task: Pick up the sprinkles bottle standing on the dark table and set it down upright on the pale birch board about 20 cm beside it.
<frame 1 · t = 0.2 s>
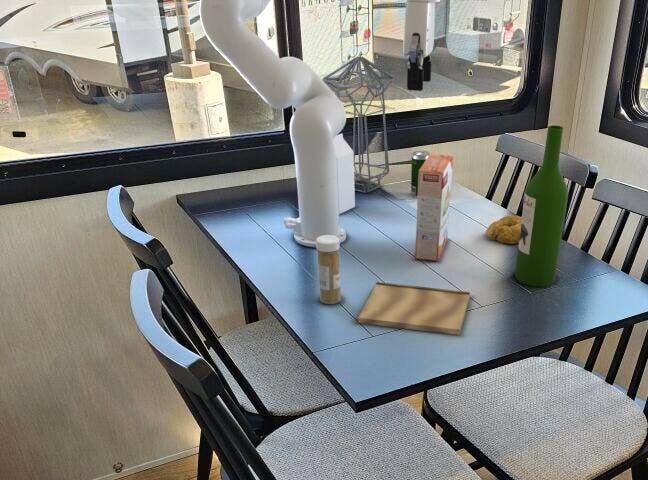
hand: (419, 85, 144), 37 cm above the table, tool pointing down, fingers open, 9 cm apart
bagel: (507, 238, 172), on the table
sprinkles bottle: (330, 300, 142), on the table
geometric lantern: (361, 187, 201), on the table
board: (415, 309, 139), on the table
cracker box: (432, 250, 164), on the table
beer can: (420, 196, 196), on the table
wine bottle: (534, 279, 153), on the table
milk carton: (336, 209, 186), on the table
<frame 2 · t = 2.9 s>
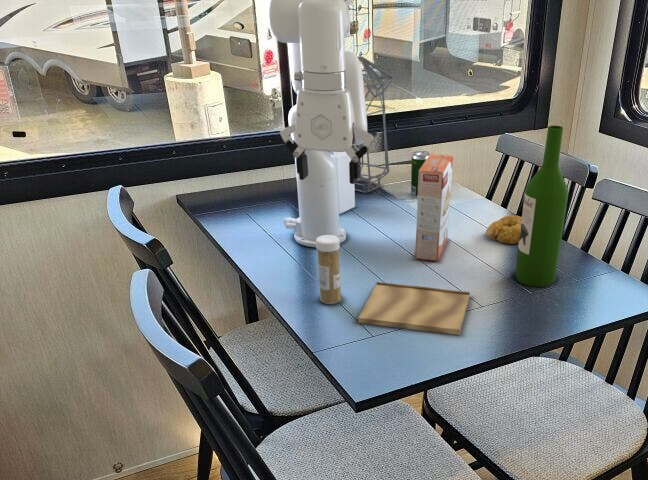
hand: (328, 179, 128), 25 cm above the table, tool pointing down, fingers open, 9 cm apart
nothing on the table moved.
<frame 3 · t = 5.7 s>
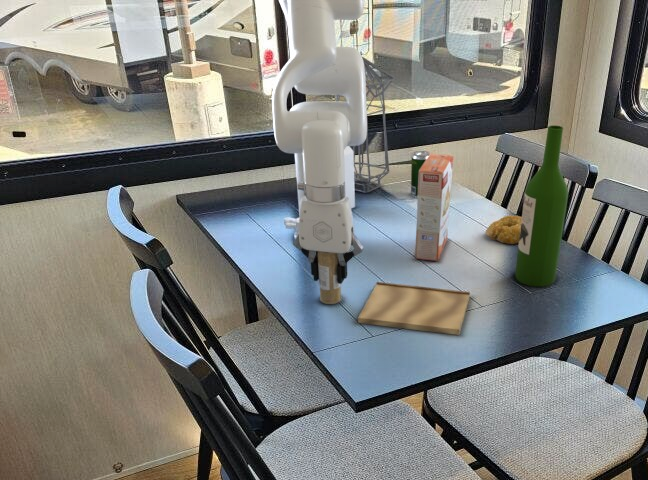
hand: (329, 278, 139), 5 cm above the table, tool pointing down, fingers closed on sprinkles bottle, 4 cm apart
sprinkles bottle: (330, 300, 142), on the table, touching gripper
everything else where it was.
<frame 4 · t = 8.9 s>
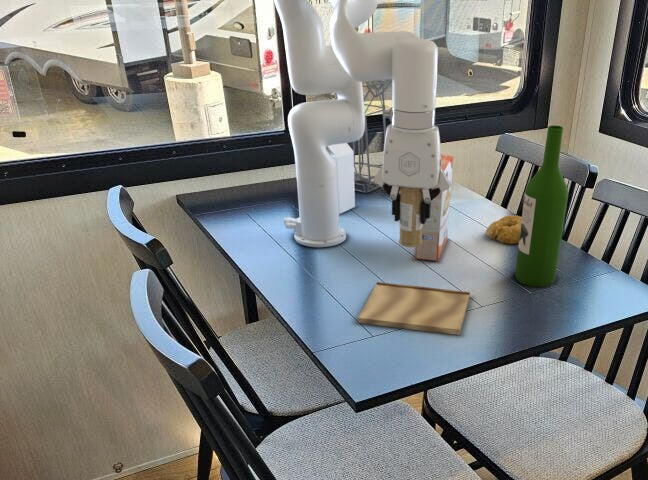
hand: (411, 219, 128), 19 cm above the table, tool pointing down, fingers closed on sprinkles bottle, 4 cm apart
sprinkles bottle: (410, 244, 131), point 14 cm above the table, touching gripper
everything else where it was.
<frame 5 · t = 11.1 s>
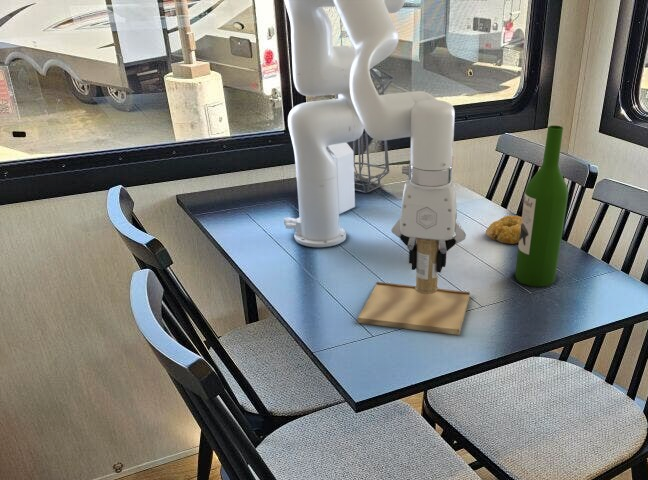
hand: (427, 267, 133), 10 cm above the table, tool pointing down, fingers closed on sprinkles bottle, 4 cm apart
sprinkles bottle: (426, 290, 136), point 5 cm above the table, touching gripper
everything else where it was.
when the fingers open (6 cm above the table, at t = 12.4 s): sprinkles bottle stays where it is, resting on board.
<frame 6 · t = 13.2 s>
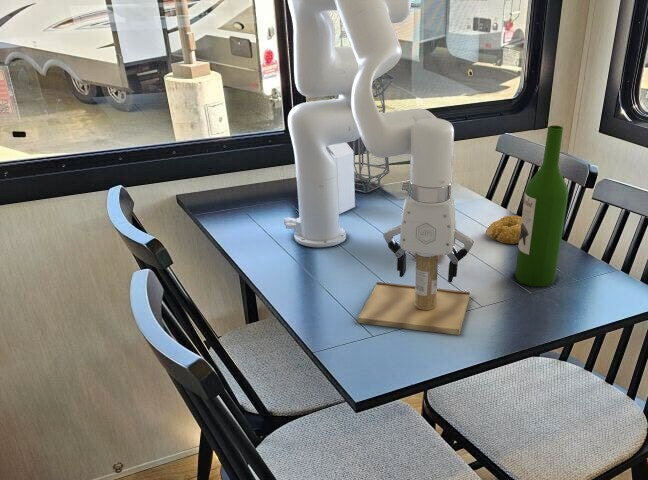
hand: (426, 276, 134), 8 cm above the table, tool pointing down, fingers open, 9 cm apart
sprinkles bottle: (425, 306, 138), point 1 cm above the table, touching board
everything else where it was.
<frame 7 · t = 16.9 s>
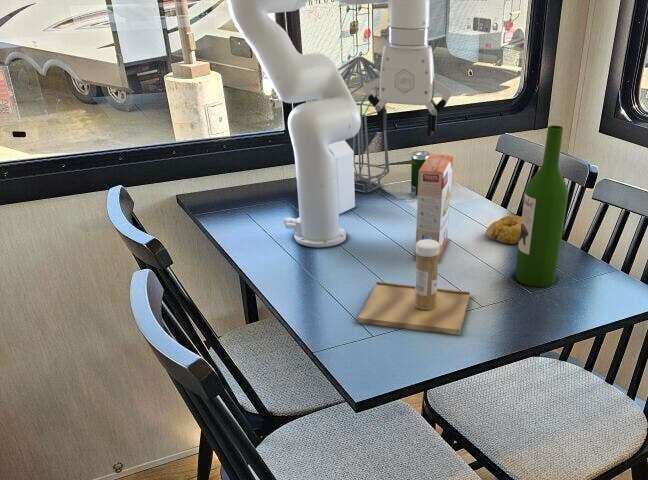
hand: (406, 132, 136), 30 cm above the table, tool pointing down, fingers open, 9 cm apart
nothing on the table moved.
at the end: sprinkles bottle inside the target area on the board (1.9 cm from its centre), point 1.0 cm above the board's base; sprinkles bottle tilted 0°; sprinkles bottle moved 19.9 cm from its start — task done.
